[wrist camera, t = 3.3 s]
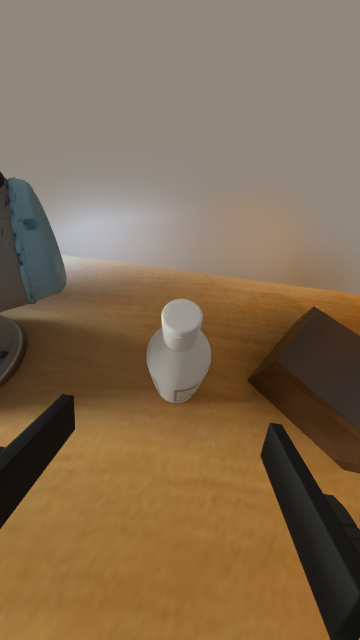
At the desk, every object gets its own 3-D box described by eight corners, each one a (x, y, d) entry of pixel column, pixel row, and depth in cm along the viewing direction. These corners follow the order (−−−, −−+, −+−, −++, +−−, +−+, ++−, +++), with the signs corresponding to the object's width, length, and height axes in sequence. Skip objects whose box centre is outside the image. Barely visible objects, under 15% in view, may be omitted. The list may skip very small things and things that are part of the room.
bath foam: (204, 370, 31) (244, 297, 14) (187, 412, 28) (211, 384, 10) (167, 353, 32) (162, 266, 15) (147, 390, 29) (110, 334, 12)
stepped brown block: (246, 380, 30) (276, 360, 22) (297, 320, 37) (335, 287, 28) (343, 469, 25) (434, 491, 16) (383, 381, 31) (464, 363, 22)
